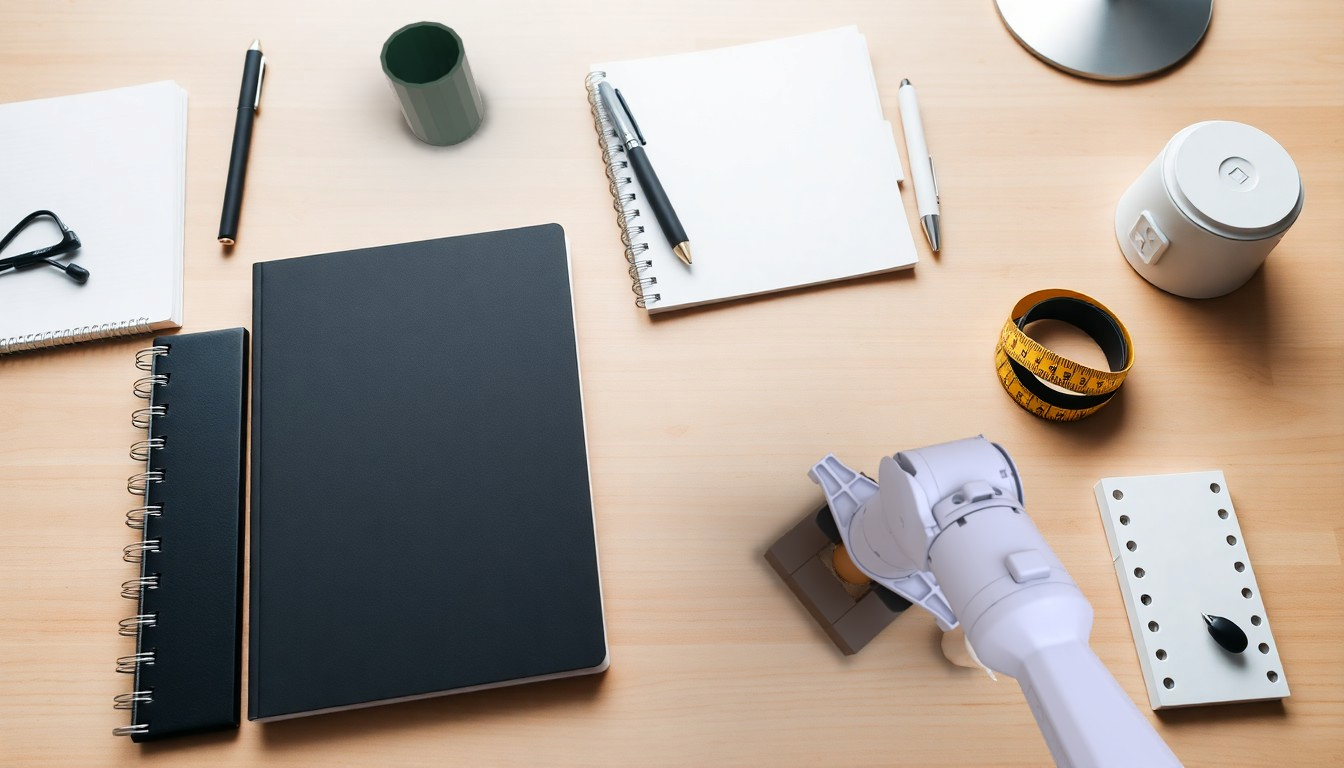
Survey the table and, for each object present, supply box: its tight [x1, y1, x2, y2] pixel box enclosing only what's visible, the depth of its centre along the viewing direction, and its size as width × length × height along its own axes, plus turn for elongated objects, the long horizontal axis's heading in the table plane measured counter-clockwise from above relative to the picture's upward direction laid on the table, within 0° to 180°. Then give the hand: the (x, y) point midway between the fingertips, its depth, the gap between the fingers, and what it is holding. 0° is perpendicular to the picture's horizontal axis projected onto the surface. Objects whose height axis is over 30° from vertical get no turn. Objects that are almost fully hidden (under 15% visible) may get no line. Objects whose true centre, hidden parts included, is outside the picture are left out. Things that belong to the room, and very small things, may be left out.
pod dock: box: [763, 471, 905, 657], centre depth 70 cm, size 11×11×4 cm
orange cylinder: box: [831, 540, 873, 586], centre depth 65 cm, size 4×4×8 cm
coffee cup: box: [379, 20, 484, 147], centre depth 84 cm, size 8×8×9 cm
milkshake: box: [940, 624, 998, 682], centre depth 65 cm, size 5×5×10 cm
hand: (861, 557), depth 67 cm, fingers closed on orange cylinder, 4 cm apart
